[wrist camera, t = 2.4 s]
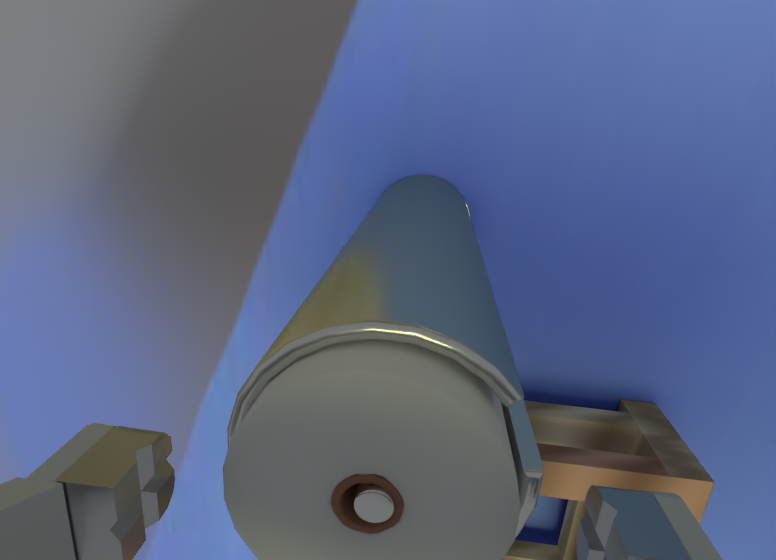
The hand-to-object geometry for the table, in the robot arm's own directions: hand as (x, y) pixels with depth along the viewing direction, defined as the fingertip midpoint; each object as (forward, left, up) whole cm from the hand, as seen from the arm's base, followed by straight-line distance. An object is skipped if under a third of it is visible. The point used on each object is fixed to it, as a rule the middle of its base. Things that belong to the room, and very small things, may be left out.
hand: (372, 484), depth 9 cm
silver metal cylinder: (0, 0, -25) cm, 25 cm away
